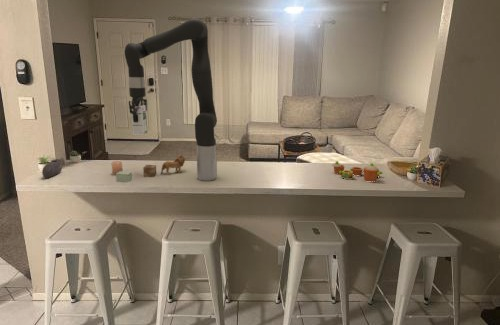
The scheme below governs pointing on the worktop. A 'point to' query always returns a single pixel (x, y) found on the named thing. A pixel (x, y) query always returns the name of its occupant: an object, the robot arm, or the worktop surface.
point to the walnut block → (149, 170)
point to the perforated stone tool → (52, 168)
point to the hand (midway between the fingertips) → (139, 121)
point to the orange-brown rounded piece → (116, 167)
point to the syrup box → (140, 122)
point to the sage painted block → (124, 176)
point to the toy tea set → (358, 172)
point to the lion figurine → (173, 164)
